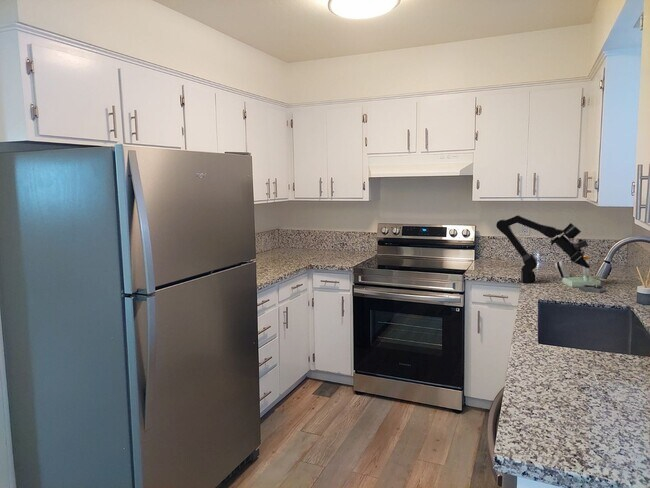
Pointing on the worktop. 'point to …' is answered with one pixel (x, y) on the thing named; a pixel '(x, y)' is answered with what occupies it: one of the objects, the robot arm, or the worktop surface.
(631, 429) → the worktop surface
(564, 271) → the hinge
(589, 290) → the tensioner block
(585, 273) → the lock pin
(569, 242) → the robot arm
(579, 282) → the parts tray
